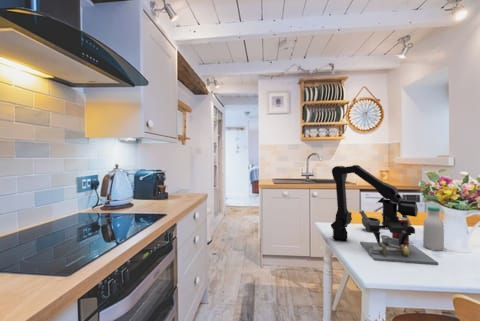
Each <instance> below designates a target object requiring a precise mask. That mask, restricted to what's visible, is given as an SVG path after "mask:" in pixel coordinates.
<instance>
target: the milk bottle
mask: <svg viewBox="0 0 480 321" xmlns="http://www.w3.org/2000/svg"><path fill="white" fill-rule="evenodd" d="M440 212H441V208H440V207H439V206H430V205H429V206H427V215H426V216H425V219H423V226H422V227H423V229H422V232H423V236H422V237H423V238H422V240H423V243H422V245H423V247H424V248H425V249H428V250H433V251H439V252H440V251H444V249H445V245H444V244H445V229H444V221H443V220H442V218H441V216H440Z"/></svg>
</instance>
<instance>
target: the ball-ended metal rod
mask: <svg viewBox="0 0 480 321" xmlns="http://www.w3.org/2000/svg"><path fill="white" fill-rule="evenodd" d="M380 239H381V242H382V243H383V244H384V245H389V244H391V245H395V246H399V239H396V238H392V236H389V235H386V234H380ZM403 245H408V246H409V245H410V240H409V241H404V243H403ZM399 247H400V246H399Z"/></svg>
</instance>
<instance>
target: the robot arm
mask: <svg viewBox="0 0 480 321" xmlns="http://www.w3.org/2000/svg"><path fill="white" fill-rule="evenodd" d="M331 174H332V177H333V180H334V182H335V188H336V189H335V190H336V204H337V210H336V213H335V220H334V222H332V223H331V224H330V226H331V229H332V235H331V237H332V239H333V241H339V242H348V231H347V227H348V225H350V224H351V223H352V220H353V218H352V212H351V211H349V210H348V206H347V205H348V204H347V203H348V202H347V191H346V181H347V178H348V174H355V175H356V176H357V177H359V178H360V179H362V180H364V181H365V182H366V183H368V184H369V185H370V186H372V187H373V188H374V189H375V190H376V191H377V193H378V194H380V195H381V198H380V199H379V200H377V203H379V204H382V213H381V216H382V221H381V224H380V225H377V224H376V223H367V225H366V228H367V229H368V230H369V231H371V232H370V233H372V234H373V235H374V237H375V240H376V243H378V245H379V242H381V232H380V230H384V231H385V230H387V231H389V233H391V234H392V233H399V246H401V245H403V243H404V240H405V239H406V237H407V236H409V237H410V236H411V235H412V234H415V235H416V229H415V227H414V226H412V225H410V223H409V224H407V223H406V222H399V218H398V217H399V215H398V213H399V214H400V215H401V216H406V217H407V216H409V217H413V218H414V217H418V212H419V208H418V204H417V201H416V200H404V198H403V197H402V196H401V194H400V193H399V190H398V188H397V187H396V186H394V185H392V184H390V183H387V182H385V181H382V180H381V179H379V178H377V177H376V176H374V175H373V174H371V173H370V172H368V171H367V170H365V169H364V168H363V167H361V166H360V165H358V164H353V165H349V166H343V165H337V166H334V167H333V168H332V169H331Z"/></svg>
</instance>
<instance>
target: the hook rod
mask: <svg viewBox="0 0 480 321" xmlns="http://www.w3.org/2000/svg"><path fill="white" fill-rule="evenodd" d="M373 250H374V251H383V247H382V246H372V248H370V253H373ZM386 251H389V252H401V254H402V255H406V256H409V255H410V249H409V246H408V245H401V246H400V247H386Z"/></svg>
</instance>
